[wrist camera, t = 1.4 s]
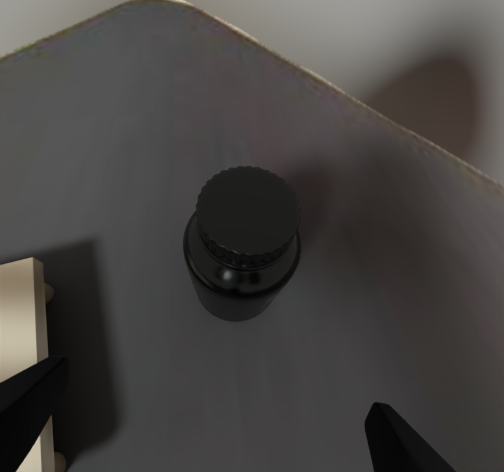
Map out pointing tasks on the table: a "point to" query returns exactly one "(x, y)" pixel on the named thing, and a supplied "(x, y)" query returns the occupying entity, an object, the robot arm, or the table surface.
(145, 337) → the table surface
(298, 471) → the table surface
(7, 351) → the small stand
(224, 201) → the supplement bottle
